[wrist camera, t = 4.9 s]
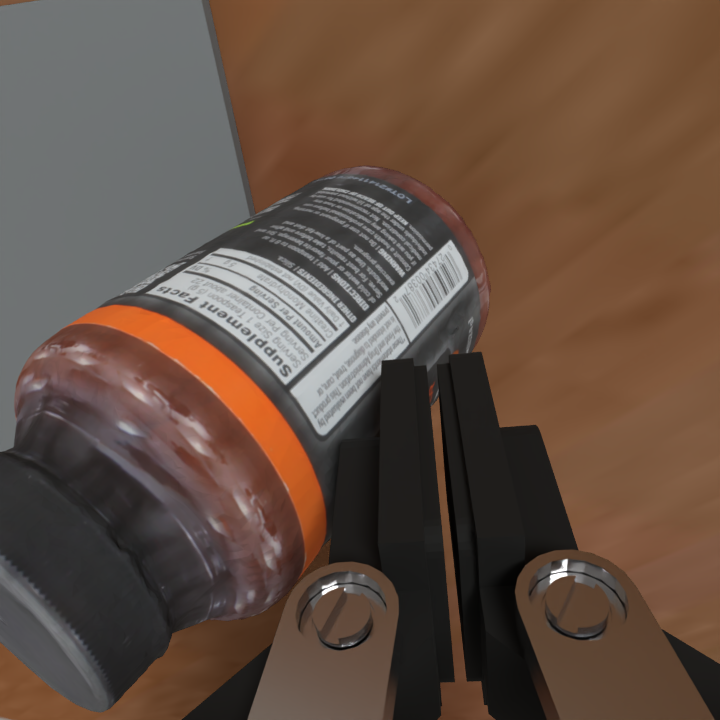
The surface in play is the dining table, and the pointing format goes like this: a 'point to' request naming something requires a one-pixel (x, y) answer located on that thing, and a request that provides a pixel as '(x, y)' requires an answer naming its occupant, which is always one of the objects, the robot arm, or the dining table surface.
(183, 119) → the mat
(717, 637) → the dining table surface
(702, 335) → the dining table surface
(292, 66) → the dining table surface
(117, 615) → the supplement bottle
